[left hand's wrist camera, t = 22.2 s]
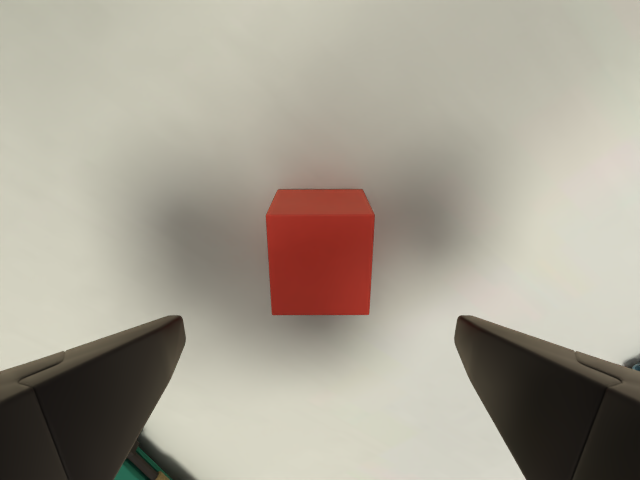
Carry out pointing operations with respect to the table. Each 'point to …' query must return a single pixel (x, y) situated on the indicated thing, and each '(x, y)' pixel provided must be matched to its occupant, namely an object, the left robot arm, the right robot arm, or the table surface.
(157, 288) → the table surface
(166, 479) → the spray gun
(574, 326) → the table surface
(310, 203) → the brick
